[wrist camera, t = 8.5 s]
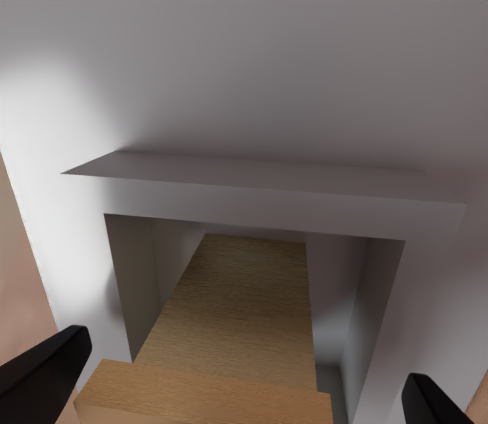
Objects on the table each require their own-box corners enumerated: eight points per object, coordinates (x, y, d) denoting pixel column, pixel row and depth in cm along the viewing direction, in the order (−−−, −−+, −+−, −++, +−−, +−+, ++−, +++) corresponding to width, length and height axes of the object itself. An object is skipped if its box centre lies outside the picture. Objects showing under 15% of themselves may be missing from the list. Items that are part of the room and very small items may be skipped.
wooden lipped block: (292, 348, 12) (291, 615, 6) (208, 336, 13) (131, 576, 7) (308, 216, 10) (336, 449, 4) (204, 207, 10) (72, 402, 4)
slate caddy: (424, 455, 15) (457, 549, 12) (92, 397, 17) (50, 464, 14) (677, -57, 7) (996, -168, 4) (-35, -41, 9) (-202, -100, 6)
